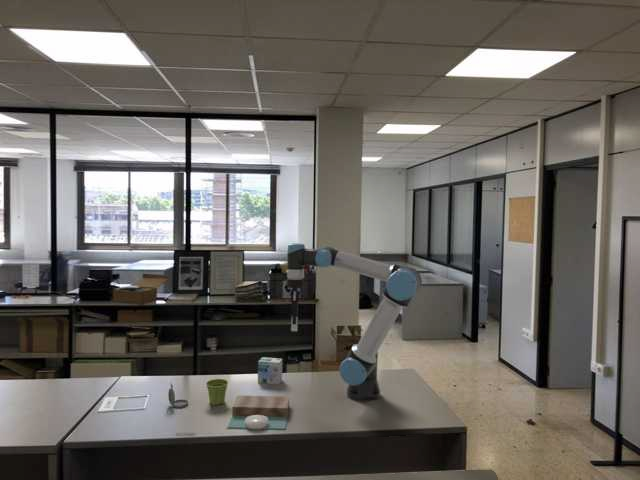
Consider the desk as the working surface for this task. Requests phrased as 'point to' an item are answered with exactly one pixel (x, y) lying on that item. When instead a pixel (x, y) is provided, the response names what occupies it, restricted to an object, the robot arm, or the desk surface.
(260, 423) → the white domed disc
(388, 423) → the desk surface
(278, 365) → the light bulb box
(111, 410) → the photo frame
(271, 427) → the mat
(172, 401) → the pocket watch
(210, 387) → the plant pot
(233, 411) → the board
